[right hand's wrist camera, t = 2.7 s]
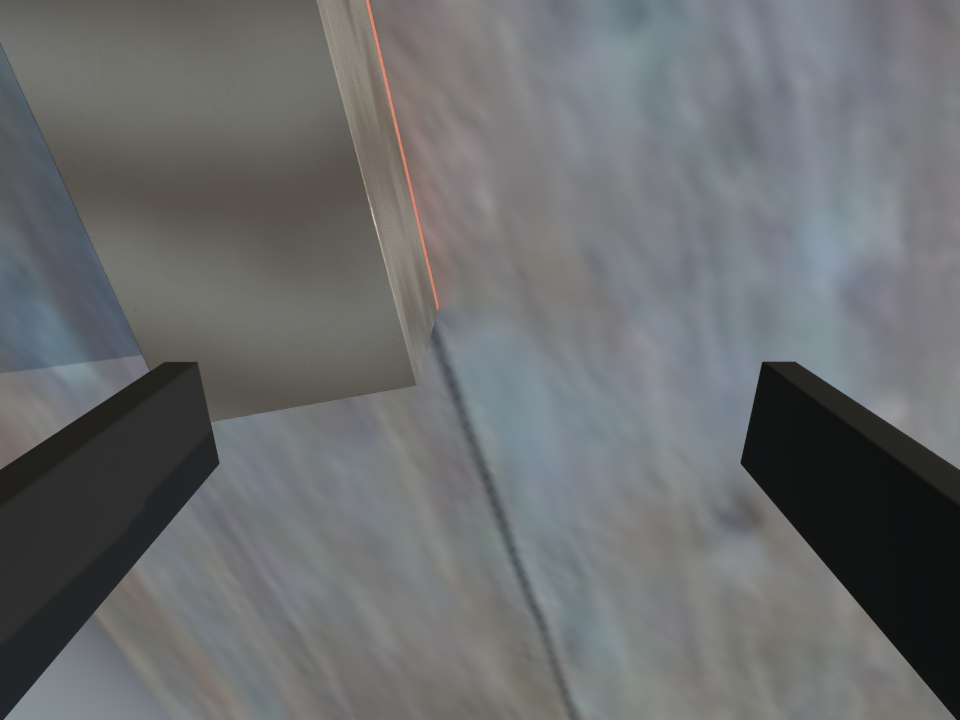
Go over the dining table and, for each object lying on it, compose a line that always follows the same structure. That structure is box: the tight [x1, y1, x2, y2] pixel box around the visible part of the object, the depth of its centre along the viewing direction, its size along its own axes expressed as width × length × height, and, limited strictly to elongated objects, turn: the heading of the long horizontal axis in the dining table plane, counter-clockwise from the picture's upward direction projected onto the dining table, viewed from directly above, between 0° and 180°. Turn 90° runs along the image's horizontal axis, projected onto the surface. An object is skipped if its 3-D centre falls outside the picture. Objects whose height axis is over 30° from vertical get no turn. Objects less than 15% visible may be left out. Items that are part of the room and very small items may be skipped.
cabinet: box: [0, 0, 439, 422], centre depth 23 cm, size 18×10×11 cm, turn 11°
